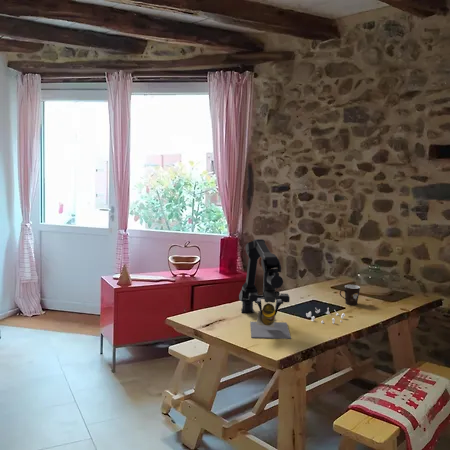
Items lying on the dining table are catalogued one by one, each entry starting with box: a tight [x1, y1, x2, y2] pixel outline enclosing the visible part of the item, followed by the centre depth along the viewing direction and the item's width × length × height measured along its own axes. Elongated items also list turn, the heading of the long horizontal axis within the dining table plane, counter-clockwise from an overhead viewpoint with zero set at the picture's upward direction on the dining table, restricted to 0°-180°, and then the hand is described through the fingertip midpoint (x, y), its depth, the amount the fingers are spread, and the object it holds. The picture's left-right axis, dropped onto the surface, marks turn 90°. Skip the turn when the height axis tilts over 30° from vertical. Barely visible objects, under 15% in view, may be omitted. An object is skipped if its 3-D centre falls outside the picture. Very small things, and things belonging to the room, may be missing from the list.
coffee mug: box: [339, 284, 361, 306], centre depth 295 cm, size 12×9×10 cm
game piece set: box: [305, 307, 346, 324], centre depth 269 cm, size 19×20×4 cm
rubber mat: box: [249, 321, 292, 340], centre depth 248 cm, size 22×18×1 cm
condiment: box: [256, 302, 276, 327], centre depth 245 cm, size 7×8×12 cm
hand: (268, 315), depth 244 cm, fingers closed on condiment, 6 cm apart
